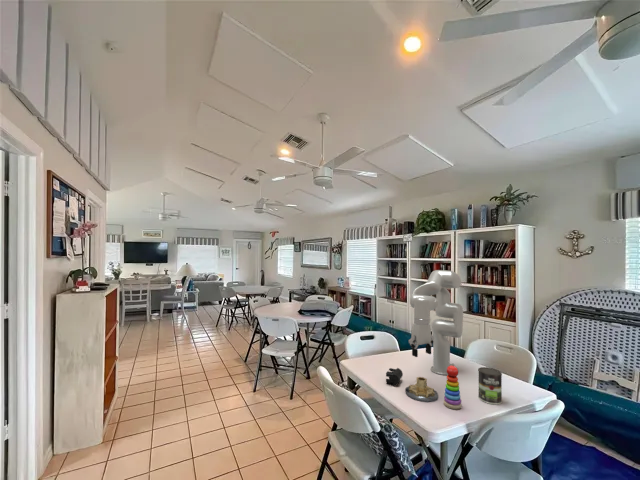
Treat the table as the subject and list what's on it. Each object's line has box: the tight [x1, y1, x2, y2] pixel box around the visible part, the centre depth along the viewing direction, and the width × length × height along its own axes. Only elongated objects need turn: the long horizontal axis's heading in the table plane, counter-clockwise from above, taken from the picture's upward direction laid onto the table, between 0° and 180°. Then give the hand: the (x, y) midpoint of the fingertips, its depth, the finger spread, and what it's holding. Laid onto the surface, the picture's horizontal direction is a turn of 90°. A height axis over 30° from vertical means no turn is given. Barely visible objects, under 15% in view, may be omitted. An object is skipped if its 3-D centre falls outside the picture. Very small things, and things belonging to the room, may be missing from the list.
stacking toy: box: [443, 365, 463, 410], centre depth 142 cm, size 8×8×19 cm
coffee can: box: [477, 366, 503, 406], centre depth 149 cm, size 10×10×14 cm
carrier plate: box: [404, 385, 439, 403], centre depth 153 cm, size 16×16×4 cm
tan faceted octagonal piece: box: [408, 376, 435, 398], centre depth 153 cm, size 12×12×6 cm
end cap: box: [385, 367, 404, 387], centre depth 166 cm, size 10×7×7 cm
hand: (421, 354), depth 154 cm, fingers open, 9 cm apart
